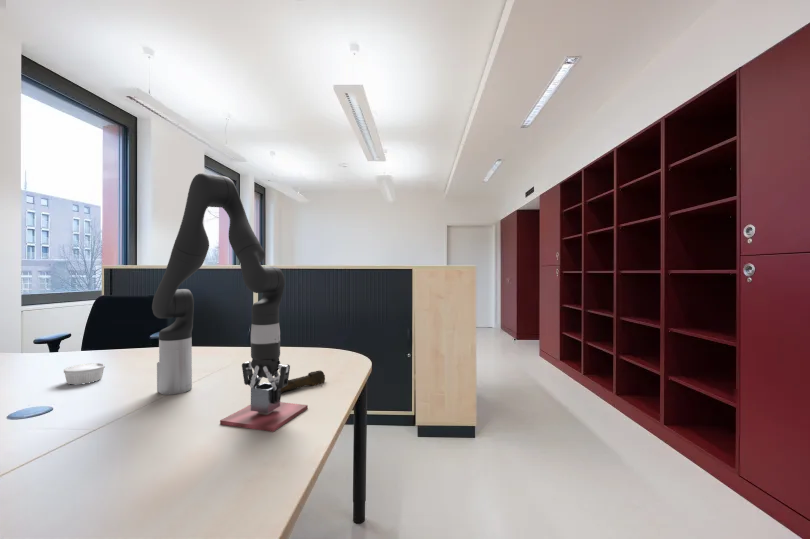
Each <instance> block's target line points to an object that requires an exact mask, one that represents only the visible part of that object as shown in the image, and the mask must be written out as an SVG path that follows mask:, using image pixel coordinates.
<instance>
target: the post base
mask: <svg viewBox="0 0 810 539" xmlns="http://www.w3.org/2000/svg"><path fill="white" fill-rule="evenodd" d="M308 406H309V405H308V404H301V403H291V402H283V401H280V406H279V407H278V408H276V409H274V410H273V411H271V412H269V413H263V412H256V411H251V404H249V405H247V406H245V407H244V408H241V409H239V410H237V411H236V412H233V413H231V414H230V415H228V416H226V417H223V418H222V419H220V420H219V425H223V426H230V427H237V428H243V429H251V430H252V429H253V430H259V431H266V432H272V433H274V432H275V431H276V430H278V429H279V428H281V427H283V426H284V425H286V424H287V423H289V422H291V420H293V419H294V418H296V417H298V416H299V415H301V413H303V412H305V411H307V410H308V409H309V408H308Z"/></svg>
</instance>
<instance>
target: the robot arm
mask: <svg viewBox="0 0 810 539" xmlns="http://www.w3.org/2000/svg"><path fill="white" fill-rule="evenodd" d="M186 197H187V198H186V202H185V208H184V212H183V215H182V216H183V217H182V219H181V224H180V226H179V230H178V232H177V235H176V238H175V240H174V244H173V247H172V249H171V252H170V256H169V260H168V263H167V266H166V268H165V272H164V274H163V276H162V279H160V280H161V281H160V282H159V285H158V287H157V289H156V291H155V293H154V295H153V299H152V304H151V309H152V313H153V314H152V315H154V317H156V318H157V319H173V318H175V321H174V322H173V323H171V324H169V325H168V326H167V327H165V328H162V329H161V330H159V332H158V356H159V357H158V358H159V359H158V362H156V392H158V393H159V394H160V395H166V396H168V395H170V396H171V395H178V394H182V393H186V392H188V391H190V390H192V388H193V378H192V377H193V365H192V364H193V351H192V350H193V344H192V339H193V338H192V332H193V328H194V310H195V309H194V308H195V305H194V304H195V299H194V296H193V293H192V292H191V290H190V289H188V288H180V289H179V287H181V285H182V284H183V283H184V282H185V281H186V280H188V279H189V278H190V277H191V276H192V275H193V274H195V273H196V272H197V271H198V270H200V268H202V266H203V264H204V263H205V260H206V257H207V254H208V252H209V249H210V241H209V237H208V234H207V232H206V229H205V227H204V218H205V214H206V211H207V209H208V208H222V209H223V210H224V211H225V212H226V214H227V216H228V219H229V228H228V241H229V244H230V247H231V248H232V250H233V252H234V254H235V256H236V257H237V260H239V265H240V270H241V274H242V279H243V282H244V285H245V287H247V289H248V290H249V291H250V292H252V293H255V294H262V295H261V298H260V300H258V301H256V302H255V303H253V304H252V306H251V329H250V358H251V361H250V360H249V361H246V362H242V364H241V370H242V377H243V383H244V384H243V385H246V386H247V385H248V386H249V387H250V389H251V388H253V387H255V386H257V385H259V384H261V381H262V379H263V378H264V379H267V381H268V383H271V385H272V388H273V390H272V403H273V404H276V403H278V402H279V400H280V401H281V399H282V397H281V394H282V393H281V388H283V387H285V386H287V385H288V380H289V377H290V376H289V375H290V370H291V365H290V364H288V363H287V364H282V363H281V361H280V356H281V329H280V305H281V303H282V298H283V294H284V289H285V285H286V284H285V283H286V278H285V275H284V273H283V271H282V270H281V268H279V267H277V266H263V265H262V264H261V263H262V262H263V261H264V259H265V258H266V252H265V250H264V248H263V247H262V244H261V243H260V241H259V239H258V238H257V235H256V234H255V233H254V231H253V228H252V226H251V224H250V222H249V219H248V216H247V213H246V211H245V210H246V209H245V207H244V205H243V201H242V200H241V197H240V194H239V191H238V189H237V187H236V184H235V183H234V181H233V180H232V179H231V178H229V177H228V176H224V175H217V174H211V173H205V172H204V173H197V174H195V176H194V177H192V180H191V182H190V185H189V188H188V193H187V196H186ZM279 373H280V374H279Z"/></svg>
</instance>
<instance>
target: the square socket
mask: <svg viewBox="0 0 810 539" xmlns="http://www.w3.org/2000/svg"><path fill="white" fill-rule="evenodd" d="M272 390H273V388H272V385H271V383H270V382H262V383H259V385H257V386H255V387H253V388H251V387H250V405H251V411H256V412H263V413H269V412H271V411H273V410H274V409H276V408H278V407H279V406H280V402H281V399H280V400H279V402H278V403H276V404H273V403H272Z"/></svg>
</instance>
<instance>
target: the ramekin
mask: <svg viewBox="0 0 810 539" xmlns="http://www.w3.org/2000/svg"><path fill="white" fill-rule="evenodd" d="M105 367H106V365H105V364H104V363H100V362H91V363H83V364H75V365H73V366H72V365H71V366H68V367H66V368H64V369H63V374H64V376H65V381H66V383H67V384H68V385H69V384H82V383H89V382H93V381H97V380H99V379H100V380H102V378H103V375H104V370H105ZM100 380H99V381H100ZM97 382H98V381H97ZM89 384H90V383H89Z"/></svg>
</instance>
